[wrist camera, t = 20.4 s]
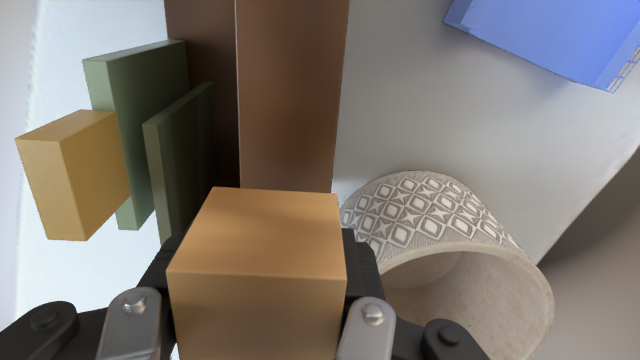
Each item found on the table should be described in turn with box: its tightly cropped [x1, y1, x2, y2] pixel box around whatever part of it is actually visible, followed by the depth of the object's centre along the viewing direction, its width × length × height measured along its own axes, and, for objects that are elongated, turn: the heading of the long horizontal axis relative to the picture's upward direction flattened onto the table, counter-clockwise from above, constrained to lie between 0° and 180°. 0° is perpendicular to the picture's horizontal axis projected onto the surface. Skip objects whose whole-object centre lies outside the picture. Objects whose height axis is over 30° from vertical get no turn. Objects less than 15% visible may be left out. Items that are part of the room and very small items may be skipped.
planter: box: [339, 170, 555, 360], centre depth 32 cm, size 16×16×13 cm
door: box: [15, 39, 190, 241], centre depth 23 cm, size 2×10×16 cm, turn 176°
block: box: [166, 187, 347, 360], centre depth 12 cm, size 4×4×4 cm
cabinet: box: [142, 0, 350, 247], centre depth 24 cm, size 13×19×14 cm
